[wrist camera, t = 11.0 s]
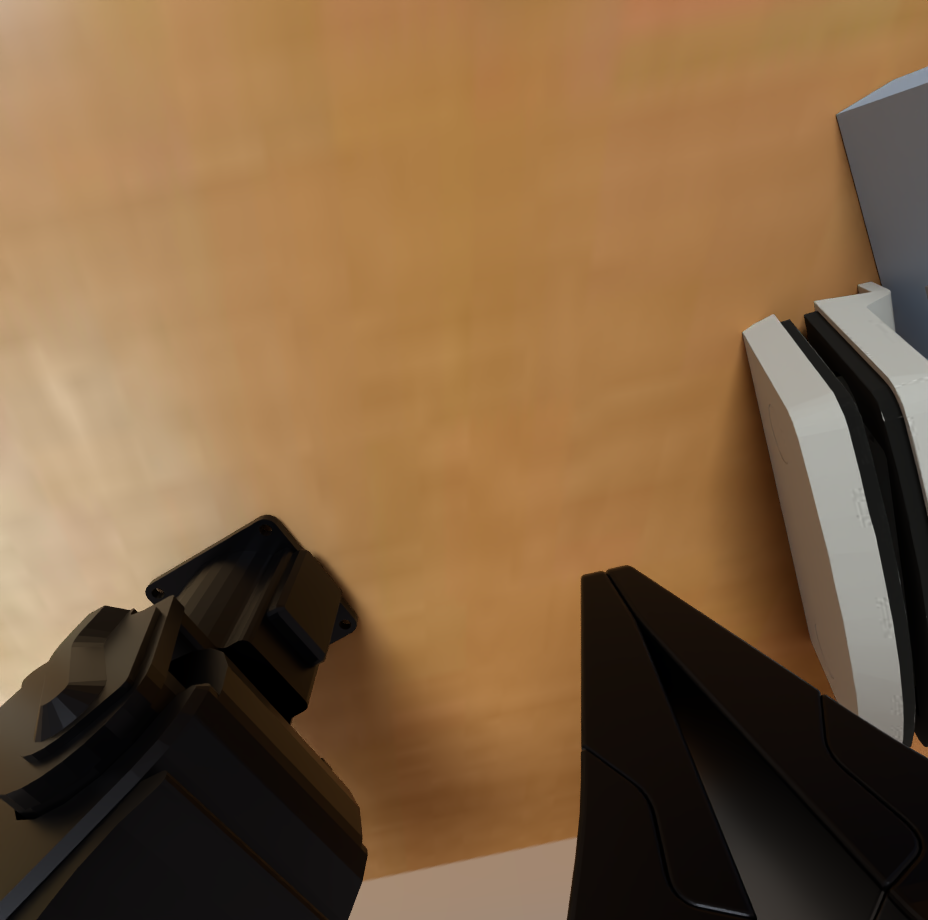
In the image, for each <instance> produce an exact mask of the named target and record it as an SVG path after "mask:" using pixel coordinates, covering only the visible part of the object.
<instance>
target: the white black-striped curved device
mask: <svg viewBox="0 0 928 920" xmlns="http://www.w3.org/2000/svg"><path fill="white" fill-rule="evenodd" d="M857 286H858V293H859V294H856V295H850V296H844V297H837V298H831V299H825V300H818V301H814V307H815V312H812V313H809V314H805V315H804V318H805V324H806V329H807V335H808V340H809V343H808V341H807V340H806V339H805V338H804V336H803V335H802V334H801V333H800V331H799V330H798V329H797V328H796V327H795V325H794V324H793V323H792V322H791V320H790V319H789V320H786V321H783V322H779V320H778V319H777V318H776V316H775V315H774V314H773V315H771V316H769V317H767V318H765V319H763V320H761V321H759V322H757V323H755V324H753V325H752V326H751V327H749V328H748V329H746V330H745V331H743V332H742V334H743V338H744V343H745V347H746V352H747V356H748V361H749V365H750V370H751V374H752V379H753V383H754V388H755V392H756V397H757V401H758V406H759V410H760V415H761V419H762V424H763V428H764V433H765V437H766V442H767V446H768V451H769V455H770V460H771V464H772V469H773V473H774V478H775V482H776V487H777V491H778V496H779V500H780V505H781V509H782V514H783V518H784V523H785V527H786V531H787V536H788V540H789V545H790V549H791V554H792V558H793V563H794V567H795V572H796V576H797V581H798V585H799V590H800V594H801V599H802V603H803V608H804V612H805V617H806V621H807V626H808V630H809V635H810V639H811V642H812V645H813V647H814V649H815V652H816V654H817V656H818V658H819V661H820V663H821V665H822V668H823V670H824V672H825V675H826V677H827V679H828V682H829V684H830V686H831V689H832V691H833V693H834V695H835V698H836V700H837V702H838V703H839V704H841V705H842V706H844V707H845V708H847V709H848V710H850V711H851V712H853V713H854V714H856V715H858V716H859V717H861V718H862V719H864V720H866V721H867V722H869V723H870V724H872V725H873V726H875V727H877V728H878V729H880V730H881V731H883V732H884V733H886V734H888V735H889V736H891V737H892V738H894V739H896V740H897V741H899V742H901V743H902V744H904V745H906V746H908V747H911V745H912V740H913V735H914V732H915V734H916V735H917V737H918V739H919V740H920V742H921V743H922V744H923V746H925V747H928V360H927V359H926V358H924V357H923V356H922V355H921V354H920V353H919V352H917V351H916V350H915V349H914V348H913V347H912V346H910V345H909V344H908V343H907V342H906V341H905V340H904V339H902V338H901V337H900V336H899V335H898V334H897V333H895V324H894V316H893V307H892V298H891V291H890V290H889V289H887V288H884V287H882V286H880V285H878V284H876V283H873V282H867V283H863V284H859V285H857Z"/></svg>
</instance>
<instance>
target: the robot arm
mask: <svg viewBox="0 0 928 920" xmlns="http://www.w3.org/2000/svg"><path fill="white" fill-rule="evenodd" d="M262 525H269V526H270V527H271V529H272V531H266V530H264V529H263V527H262ZM156 588H159V589H161V590H163V592H164V593H160V592H159V591H157V589H156ZM145 593H146V596H147V598H148V599H149V600H150V601H151V602H152V603H153V604H154V605H152V606H151V607H149V608H147V609H145V610H143V611H140V612H137V611H136V610H135V609H131V610H126V609H121V608H115V607H110V606H103V607H101V608H99V609H97V610H96V611H94V612H92V613H90V614H88V616H87V617H86V618H85V619H84V620H83V621H82V622H81V623H80V624H79V625H78V626H77V627H76V628H75V629H74V630H73V631H72V632H71V633H70V634H69V636H68V637H67V638H66V639H65V640H64V641H63V642H62V643H61V644H60V645H59V647H58V648H57V649H56V651H55V652H54V653H53V655H52V656H51V658H50V660H49V661H48V662H47V663H45V664H44V665H42V666H41V667H39V668H37V669H36V670H35V671H33V672H32V673H31V674H30V675H28V676H27V677H26V678H25V679H24V680H23V682H22V688H21V689H20V690H19V691H18V692H16V693H15V694H14V695H13V696H12V697H11V698H10V699H9V700H8V701H7V702H5V703H4V704H3V705H2V706H1V707H0V920H348V918H349V916H350V913H351V910H352V908H353V905H354V902H355V899H356V897H357V894H358V891H359V889H360V886H361V884H362V881H363V876H364V871H365V866H366V861H367V856H368V853H367V848H366V847H365V846H364V845H363V844H362V827H361V817H360V808H359V806H358V804H357V803H356V801H355V799H354V797H353V795H352V794H351V792H350V790H349V789H348V788H347V787H346V785H345V784H344V783H343V782H342V781H341V780H340V779H339V778H338V777H337V776H336V775H335V773H334V772H333V771H332V768H331V767H330V766H329V765H328V764H327V762H326V761H325V760H324V759H323V758H320V757H319V756H318V755H317V754H316V753H315V752H314V751H313V749H312V748H311V747H310V746H309V745H308V744H307V743H306V742H305V741H304V740H303V739H302V737H301V736H300V735H299V734H298V733H297V732H296V731H295V730H294V729H293V728H292V727H291V723H292V720H293V717H294V716H296V715H298V714H299V713H301V712H303V711H305V710H306V709H307V707H308V703H309V699H310V696H311V692H312V688H313V684H314V681H315V677H316V673H317V669H318V666H319V664H320V663H322V662H324V661H325V659H326V655H327V651H328V647H329V645H330V644H332V643H333V642H335V641H337V640H339V639H341V638H343V637H344V636H346V635H348V634H350V633H352V632H353V631H354V630H355V629H356V627H357V622H358V617H357V615H356V613H355V612H354V611H353V610H352V608H351V607H350V606H349V605H348V604H347V602H346V601H345V600H344V599H343V598H342V596H341V595H342V591H341V590H340V588H339V587H338V586H337V585H336V584H335V582H334V581H333V580H332V579H331V578H330V576H329V575H328V574H327V573H326V571H325V570H324V569H323V568H322V567H321V565H320V564H319V563H318V562H317V560H316V559H315V558H314V557H313V556H312V554H311V553H310V552H309V551H307V550H305V549H302V548H301V547H300V545H299V544H298V543H297V542H296V541H295V539H294V538H293V537H292V536H291V535H290V533H289V532H288V531H287V530H286V528H285V527H284V526H283V525H282V524H281V522H280V521H279V520H278V519H277V518H276V517H274V516H272V515H263V516H260V517H259V518H257V519H255V520H254V521H252V522H250V523H248V524H247V525H245V526H243V527H242V528H240V529H238V530H237V531H235V532H233V533H232V534H230V535H228V536H227V537H225V538H223V539H221V540H220V541H218V542H216V543H215V544H213V545H211V546H210V547H208V548H206V549H205V550H203V551H201V552H200V553H198V554H196V555H194V556H193V557H191V558H189V559H188V560H186V561H184V562H183V563H181V564H179V565H178V566H176V567H174V568H173V569H171V570H169V571H167V572H166V573H164V574H162V575H161V576H159V577H157V578H156V579H154V580H153V581H152V582H151V583H150V584H149V585H148V587H147V588H146V591H145ZM342 620H348V621H350V623H348V624H346V623H343V622H342ZM581 749H582V752H581V791H580V817H579V826H578V836H577V846H576V855H575V864H574V871H573V878H572V886H571V894H570V901H569V908H568V916H567V920H928V758H926V757H925V756H923V755H921V754H920V753H918V752H916V751H914V750H913V749H911V748H909V747H908V746H906V745H904V744H902V743H901V742H899V741H897V740H896V739H894V738H892V737H891V736H889V735H888V734H886V733H884V732H883V731H881V730H880V729H878V728H877V727H875V726H873V725H872V724H870V723H869V722H867V721H866V720H864V719H862V718H861V717H859V716H858V715H856V714H854V713H853V712H851V711H850V710H848V709H847V708H845V707H844V706H842V705H841V704H839V703H838V702H836V701H835V700H833V699H832V698H830V697H829V696H827V695H825V694H824V695H821V694H820V691H819V690H818V689H816V688H815V687H813V686H812V685H810V684H809V683H807V682H806V681H804V680H803V679H801V678H799V677H798V676H796V675H795V674H793V673H792V672H790V671H789V670H787V669H786V668H784V667H783V666H781V665H780V664H778V663H777V662H775V661H774V660H772V659H771V658H769V657H768V656H766V655H765V654H763V653H762V652H760V651H759V650H757V649H756V648H754V647H753V646H751V645H750V644H748V643H747V642H745V641H744V640H742V639H740V638H739V637H737V636H736V635H734V634H733V633H731V632H730V631H728V630H727V629H725V628H724V627H722V626H721V625H719V624H718V623H716V622H715V621H713V620H712V619H710V618H709V617H707V616H706V615H704V614H703V613H701V612H700V611H698V610H697V609H695V608H694V607H692V606H691V605H689V604H688V603H686V602H685V601H683V600H681V599H680V598H678V597H677V596H675V595H674V594H672V593H671V592H669V591H668V590H666V589H665V588H663V587H662V586H660V585H659V584H657V583H656V582H654V581H653V580H651V579H650V578H648V577H647V576H645V575H644V574H642V573H641V572H639V571H638V570H636V569H635V568H633V567H631V566H628V565H625V566H620V567H616V568H611V569H608V570H607V571H606V572H603V571H598V572H594V573H590V574H585V575H583V576H582V577H581Z"/></svg>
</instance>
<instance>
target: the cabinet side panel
mask: <svg viewBox="0 0 928 920" xmlns="http://www.w3.org/2000/svg"><path fill="white" fill-rule="evenodd" d="M836 116H837V119H838V123H839V127H840V131H841V134H842V138H843V142H844V145H845V149H846V153H847V157H848V160H849V164H850V168H851V172H852V175H853V179H854V183H855V187H856V190H857V194H858V198H859V202H860V205H861V209H862V213H863V216H864V220H865V224H866V228H867V231H868V235H869V239H870V243H871V246H872V250H873V254H874V258H875V261H876V265H877V269H878V273H879V276H880V280H881V284H882V287H884V288H887V289H889V290H890V291H891V298H892V307H893V316H894V324H895V333H897V334H898V335H899V336H900V337H901V338H902V339H904V340H905V341H906V342H907V343H908V344H909V345H910V346H912V347H913V348H914V349H915V350H916V351H917V352H919V353H920V354H921V355H922V356H923V357H924V358H926V359H927V360H928V67H926V68H923V69H920V70H918V71H915V72H913V73H910V74H907V75H905V76H902V77H900V78H897V79H894V80H892V81H891V82H889V83H887V84H886V85H884V86H882V87H881V88H879V89H877V90H876V91H874V92H873V93H871V94H869V95H868V96H866V97H864V98H863V99H861V100H859V101H858V102H856V103H854V104H853V105H851V106H850V107H848V108H846V109H845V110H843V111H841V112H840V113H838V114H836Z"/></svg>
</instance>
